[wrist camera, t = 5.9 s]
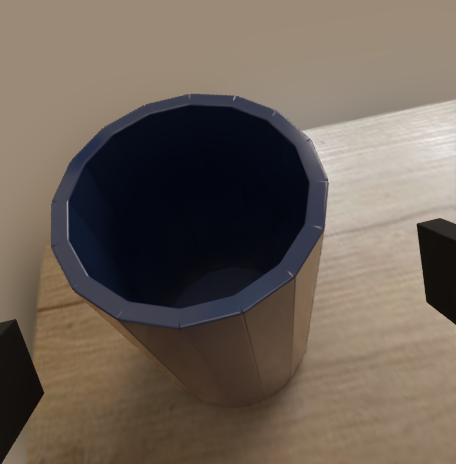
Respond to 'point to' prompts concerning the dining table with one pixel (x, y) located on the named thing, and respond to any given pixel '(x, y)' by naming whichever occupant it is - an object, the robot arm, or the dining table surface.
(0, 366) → the robot arm
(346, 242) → the dining table surface
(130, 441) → the dining table surface
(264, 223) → the cup
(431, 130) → the dining table surface
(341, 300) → the dining table surface
